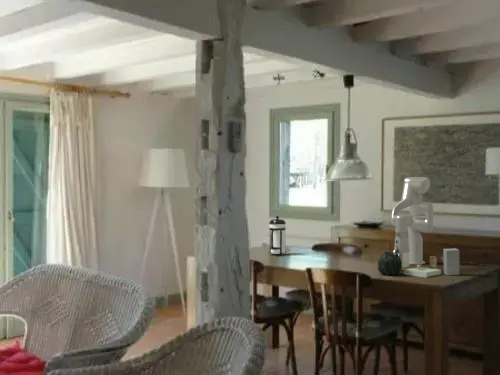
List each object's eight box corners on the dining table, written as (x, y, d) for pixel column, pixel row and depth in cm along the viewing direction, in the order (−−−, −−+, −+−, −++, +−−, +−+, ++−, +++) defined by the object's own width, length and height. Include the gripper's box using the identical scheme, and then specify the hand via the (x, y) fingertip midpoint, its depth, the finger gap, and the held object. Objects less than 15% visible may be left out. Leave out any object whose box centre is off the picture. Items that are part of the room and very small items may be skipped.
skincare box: (456, 273, 394) (456, 248, 393) (460, 275, 387) (460, 249, 386) (442, 273, 394) (442, 248, 393) (446, 275, 386) (446, 249, 386)
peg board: (403, 274, 391) (403, 269, 391) (418, 271, 402) (418, 266, 402) (426, 277, 379) (426, 272, 379) (441, 274, 390) (441, 269, 390)
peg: (428, 272, 399) (428, 256, 398) (432, 271, 401) (432, 255, 401) (434, 273, 396) (434, 257, 395) (437, 272, 398) (437, 256, 398)
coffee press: (264, 254, 492) (263, 215, 491) (283, 253, 497) (283, 215, 496) (271, 256, 475) (271, 217, 475) (291, 256, 480) (291, 216, 479)
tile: (409, 270, 408) (409, 264, 408) (417, 268, 414) (417, 263, 414) (421, 271, 401) (421, 266, 401) (429, 270, 407) (429, 265, 407)
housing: (393, 266, 403) (393, 252, 403) (400, 265, 408) (400, 251, 408) (402, 267, 398) (402, 253, 398) (409, 266, 402) (409, 252, 402)
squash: (410, 265, 391) (395, 246, 397) (398, 269, 380) (383, 249, 386) (395, 279, 398) (380, 260, 404) (383, 283, 387) (368, 263, 393)
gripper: (398, 236, 394) (398, 264, 394) (414, 234, 406) (414, 262, 406) (388, 235, 400) (388, 263, 400) (404, 233, 411) (404, 261, 411)
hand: (401, 262), depth 403 cm, fingers closed on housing, 7 cm apart
